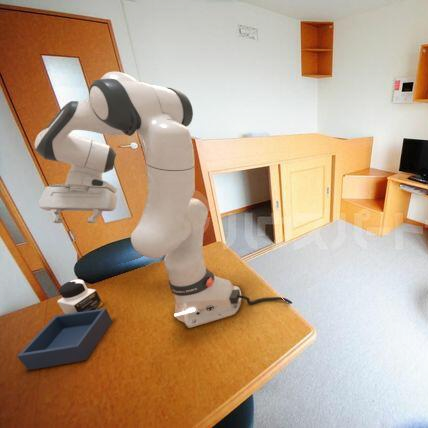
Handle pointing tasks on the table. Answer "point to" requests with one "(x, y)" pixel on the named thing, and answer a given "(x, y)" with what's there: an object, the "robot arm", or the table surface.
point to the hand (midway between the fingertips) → (74, 222)
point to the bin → (66, 339)
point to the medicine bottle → (78, 297)
